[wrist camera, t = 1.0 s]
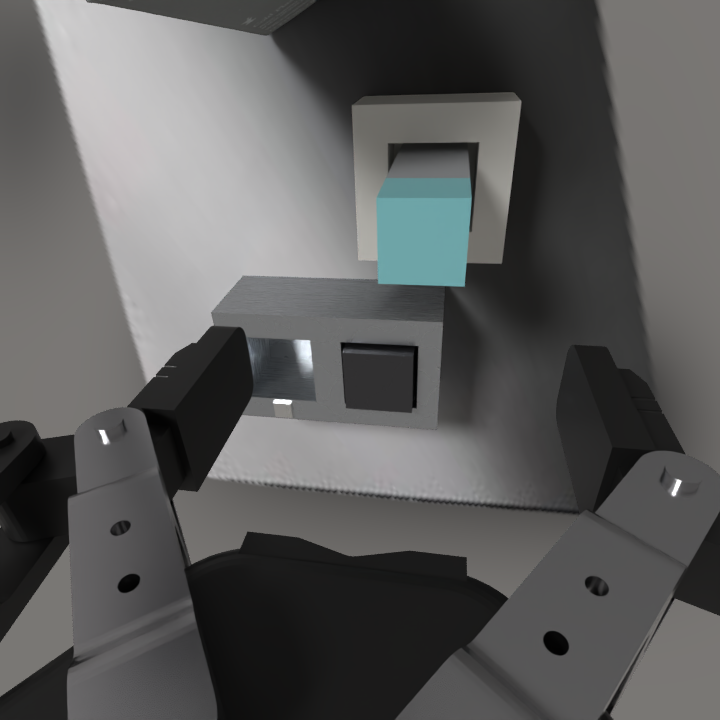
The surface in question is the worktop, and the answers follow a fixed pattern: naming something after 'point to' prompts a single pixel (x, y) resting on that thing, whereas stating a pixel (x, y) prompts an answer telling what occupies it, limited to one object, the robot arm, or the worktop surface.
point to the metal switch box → (340, 348)
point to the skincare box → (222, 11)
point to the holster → (439, 125)
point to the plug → (425, 216)
